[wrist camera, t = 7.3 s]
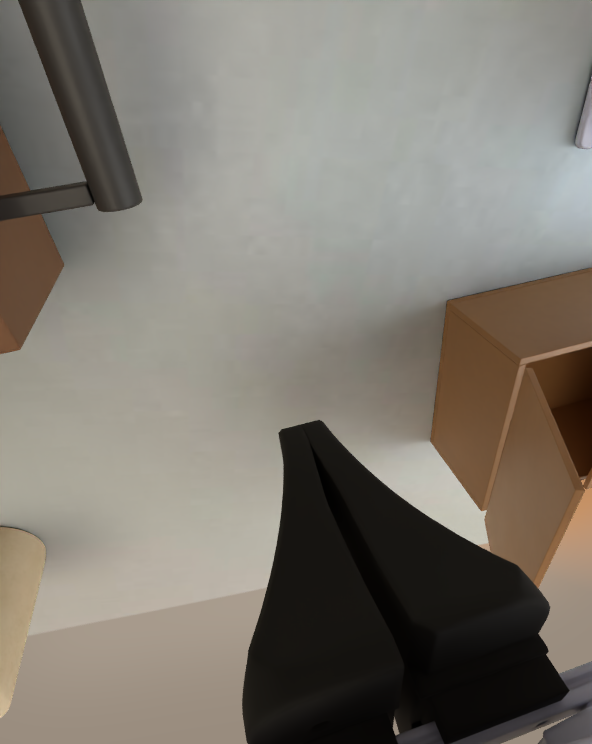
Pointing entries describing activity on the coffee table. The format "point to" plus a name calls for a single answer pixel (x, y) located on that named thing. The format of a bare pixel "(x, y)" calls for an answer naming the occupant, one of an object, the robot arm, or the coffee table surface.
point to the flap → (532, 486)
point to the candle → (16, 601)
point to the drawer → (103, 185)
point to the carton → (513, 373)
